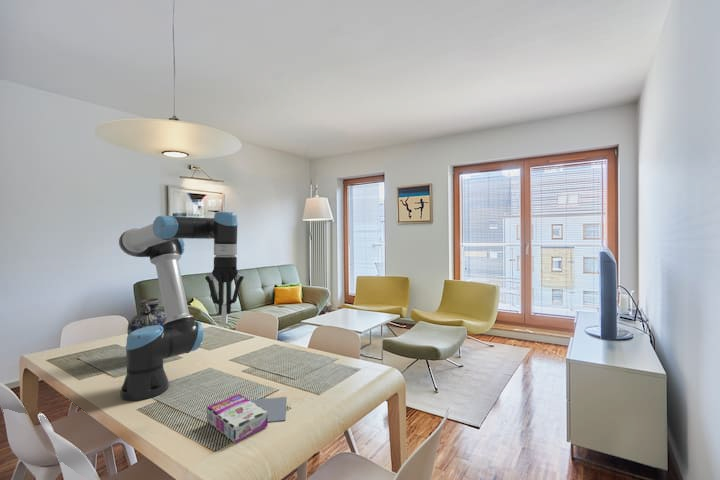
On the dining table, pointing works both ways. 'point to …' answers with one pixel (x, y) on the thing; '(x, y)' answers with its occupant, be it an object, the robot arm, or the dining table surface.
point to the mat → (273, 408)
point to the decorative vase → (147, 315)
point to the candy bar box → (237, 417)
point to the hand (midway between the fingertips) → (224, 322)
